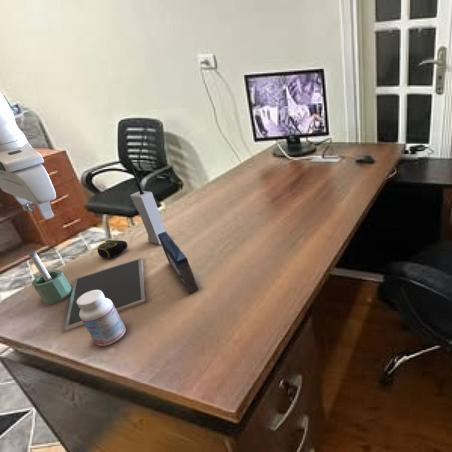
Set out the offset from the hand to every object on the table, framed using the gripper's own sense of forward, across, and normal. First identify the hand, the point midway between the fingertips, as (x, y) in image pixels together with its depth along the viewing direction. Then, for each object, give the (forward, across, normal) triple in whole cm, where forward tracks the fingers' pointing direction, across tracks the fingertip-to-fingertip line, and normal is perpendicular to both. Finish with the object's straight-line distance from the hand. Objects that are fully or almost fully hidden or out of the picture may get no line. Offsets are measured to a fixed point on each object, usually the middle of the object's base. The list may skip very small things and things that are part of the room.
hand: (39, 213), depth 80 cm
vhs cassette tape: (+24, +19, +17) cm, 34 cm away
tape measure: (+24, -12, +15) cm, 31 cm away
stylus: (+23, -6, -4) cm, 24 cm away
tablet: (+24, +5, +4) cm, 24 cm away
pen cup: (+24, -6, -4) cm, 25 cm away
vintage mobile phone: (+24, -5, +26) cm, 35 cm away
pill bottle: (+24, +22, -5) cm, 33 cm away
